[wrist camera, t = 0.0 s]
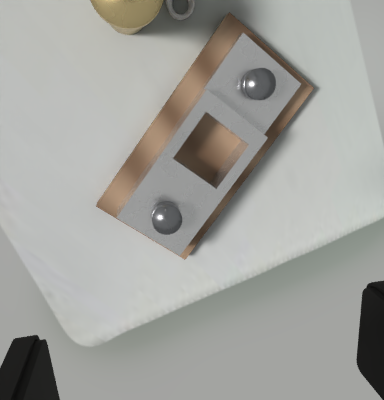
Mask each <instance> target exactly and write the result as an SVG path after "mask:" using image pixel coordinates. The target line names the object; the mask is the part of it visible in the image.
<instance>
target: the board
mask: <svg viewBox="0 0 384 400" xmlns="http://www.w3.org/2000/svg"><path fill="white" fill-rule="evenodd" d="M241 33H244V34H246V35H247V36H248V37H249V38H250V39H251V40H252V41H253V42H255V43H256V44H257V45H258V46H259V47H260V48H261V49H262V50H264V51H265V52H266V53H267V54H268V55H269V56H270V57H271V58H273V59H274V60H275V61H276V62H277V63H278V64H279V65H280V66H282V67H283V68H284V69H285V70H286V71H287V72H288V73H289V74H291V75H292V76H293V77H294V78H295V79H296V80H297V81H299V82H300V83H301V85H300V87H299V88H298V89H297V91H296V92H295V94H294V95H293V96H292V98H291V99H290V100H289V102H288V103H287V104H286V106H285V107H284V108H283V110H282V111H281V112H280V114H279V115H278V116H277V118H276V119H275V120H274V122H273V123H272V124H271V126H270V127H269V128H268V130H267V131H266V133H265V134H264V135H265V136H267V137H268V139H267V140H266V141H265V143H264V144H263V145H262V147H261V148H260V149H259V151H258V152H257V153H256V155H255V156H254V157H253V159H252V160H251V161H250V163H249V164H248V165H247V167H246V168H245V169H244V171H243V172H242V173H241V175H240V176H239V177H238V179H237V180H236V181H235V183H234V184H233V185H232V187H231V188H230V189H229V191H228V192H227V193H226V195H225V196H224V197H223V199H222V200H221V202H220V203H219V204H218V206H217V207H216V208H215V210H214V211H213V212H212V214H211V215H210V216H209V218H208V219H207V220H206V222H205V223H204V224H203V226H202V227H201V228H200V230H199V231H198V232H197V234H196V235H195V236H194V238H193V239H192V240H191V242H190V243H189V244H188V246H187V247H186V248H185V250H184V251H183V252H182V254H181V255H180V257H182V258H183V259H186V258H187V257H188V255H189V254H190V253H191V251H192V250H193V249H194V247H195V246H196V245H197V243H198V242H199V241H200V239H201V238H202V237H203V235H204V234H205V233H206V231H207V230H208V229H209V227H210V226H211V225H212V223H213V222H214V221H215V219H216V218H217V217H218V215H219V214H220V213H221V211H222V210H223V209H224V207H225V206H226V205H227V203H228V202H229V201H230V199H231V198H232V197H233V195H234V194H235V193H236V191H237V190H238V189H239V187H240V186H241V185H242V183H243V182H244V181H245V179H246V178H247V177H248V175H249V174H250V173H251V171H252V170H253V169H254V167H255V166H256V165H257V163H258V162H259V161H260V159H261V158H262V157H263V155H264V154H265V153H266V151H267V150H268V149H269V147H270V146H271V145H272V143H273V142H274V141H275V139H276V138H277V137H278V135H279V134H280V133H281V131H282V130H283V129H284V127H285V126H286V125H287V123H288V122H289V121H290V119H291V118H292V117H293V115H294V114H295V113H296V111H297V110H298V109H299V107H300V106H301V105H302V103H303V102H304V101H305V99H306V98H307V97H308V95H309V94H310V93H311V91H312V90H313V89H314V88H313V87H312V86H311V85H310V84H309V83H308V82H307V81H306V80H305V79H303V78H302V77H301V76H300V75H299V74H298V73H297V72H296V71H294V70H293V69H292V68H291V67H290V66H289V65H288V64H287V63H286V62H284V61H283V60H282V59H281V58H280V57H279V56H278V55H277V54H275V53H274V52H273V51H272V50H271V49H270V48H269V47H268V46H267V45H265V44H264V43H263V42H262V41H261V40H260V39H259V38H258V37H257V36H255V35H254V34H253V33H252V32H251V31H250V30H249V29H248V28H246V27H245V26H244V25H243V24H242V23H241V22H240V21H239V20H238V19H236V18H235V17H234V16H233V15H232V14H231V13H228V14H227V15H226V16H225V18H224V19H223V21H222V22H221V23H220V25H219V26H218V28H217V29H216V31H215V32H214V34H213V35H212V37H211V38H210V40H209V41H208V42H207V44H206V45H205V47H204V48H203V50H202V51H201V53H200V54H199V56H198V57H197V58H196V60H195V61H194V63H193V64H192V66H191V67H190V69H189V70H188V72H187V73H186V74H185V76H184V77H183V79H182V80H181V82H180V83H179V85H178V86H177V88H176V89H175V90H174V92H173V93H172V95H171V96H170V98H169V99H168V101H167V102H166V104H165V105H164V106H163V108H162V109H161V111H160V112H159V114H158V115H157V117H156V118H155V120H154V121H153V122H152V124H151V125H150V127H149V128H148V130H147V131H146V133H145V134H144V136H143V137H142V138H141V140H140V141H139V143H138V144H137V146H136V147H135V149H134V150H133V152H132V153H131V154H130V156H129V157H128V159H127V160H126V162H125V163H124V165H123V166H122V168H121V169H120V170H119V172H118V173H117V175H116V176H115V178H114V179H113V181H112V182H111V184H110V185H109V186H108V188H107V189H106V191H105V192H104V194H103V195H102V197H101V198H100V200H99V201H98V202H97V205H96V207H98V208H100V209H101V210H103V211H105V212H106V213H108V214H110V215H111V216H113V217H115V218H116V217H117V208H118V207H119V205H120V204H121V203H122V201H123V200H124V198H125V197H126V195H127V194H128V193H129V191H130V190H131V188H132V187H133V185H134V184H135V183H136V181H137V180H138V178H139V177H140V175H141V174H142V173H143V171H144V170H145V168H146V167H147V165H148V164H149V162H150V161H151V160H152V158H153V157H154V155H155V154H156V152H157V151H158V150H159V148H160V147H161V145H162V144H163V142H164V141H165V140H166V138H167V137H168V135H169V134H170V132H171V131H172V130H173V128H174V127H175V125H176V124H177V122H178V121H179V120H180V118H181V117H182V115H183V114H184V112H185V111H186V110H187V108H188V107H189V105H190V104H191V102H192V101H193V100H194V98H195V97H196V95H197V94H198V92H199V91H200V90H201V88H202V87H203V85H204V84H205V82H206V81H207V80H208V78H209V77H210V75H211V74H212V72H213V71H214V69H215V68H216V67H217V65H218V64H219V62H220V61H221V59H222V58H223V57H224V55H225V54H226V52H227V51H228V49H229V48H230V47H231V45H232V44H233V42H234V41H235V39H236V38H237V37H238V35H239V34H241ZM239 142H240V140H239V139H238V138H236V137H235V136H234V135H233V134H231V133H230V132H229V131H227V130H226V129H225V128H223V127H222V126H221V125H219V124H218V123H217V122H216V121H214V120H213V119H212V118H210V117H209V116H208V115H206V114H204V115H203V117H202V118H201V119H200V121H199V122H198V124H197V125H196V126H195V128H194V129H193V131H192V132H191V134H190V135H189V136H188V138H187V139H186V141H185V142H184V143H183V145H182V146H181V148H180V149H179V150H178V152H177V153H176V155H175V156H174V157H175V158H177V159H178V160H180V161H181V162H182V163H184V164H185V165H187V166H188V167H190V168H191V169H192V170H194V171H195V172H197V173H198V174H200V175H201V176H202V177H204V178H205V179H207V180H208V181H210V182H211V180H212V179H213V178H214V176H215V175H216V173H217V172H218V171H219V169H220V168H221V167H222V165H223V164H224V163H225V161H226V160H227V158H228V157H229V156H230V154H231V153H232V152H233V150H234V149H235V148H236V146H237V145H238V143H239ZM116 219H118V218H116ZM118 220H119V219H118ZM120 221H121V220H120ZM121 222H123V221H121ZM123 223H124V222H123ZM125 224H126V223H125ZM127 225H128V224H127ZM128 226H129V225H128ZM130 227H131V226H130ZM132 228H133V227H132ZM133 229H134V228H133ZM135 230H136V229H135ZM137 231H138V230H137ZM138 232H139V231H138ZM140 233H141V232H140ZM142 234H143V233H142ZM143 235H144V234H143ZM145 236H146V235H145ZM147 237H148V236H147ZM148 238H149V237H148ZM150 239H151V238H150ZM152 240H153V239H152ZM153 241H154V240H153ZM155 242H156V241H155ZM157 243H158V242H157ZM158 244H159V243H158ZM160 245H161V244H160ZM162 246H163V245H162ZM163 247H164V246H163ZM165 248H166V247H165ZM167 249H168V248H167ZM168 250H169V249H168ZM170 251H171V250H170ZM172 252H173V251H172ZM173 253H174V252H173ZM175 254H176V253H175ZM177 255H178V254H177ZM178 256H179V255H178Z"/></svg>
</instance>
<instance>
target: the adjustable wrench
mask: <svg viewBox="0 0 384 400" xmlns="http://www.w3.org/2000/svg"><path fill="white" fill-rule="evenodd" d="M187 1H188V3H189V8H188V10H187V12H186V13H184V14H181V15H180V14H177V13H176V12H175V11H174V10H173V7H172V2H173V0H165V2H166V6H167V9H168V12H169V14H170V15H171V16H172V17H173V18H175V19H176V20H185V19H186V18H188V17H189V16H190V15H191V14H192V12H193V10H194V6H195V2H194V0H187Z"/></svg>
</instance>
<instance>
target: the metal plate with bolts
mask: <svg viewBox="0 0 384 400" xmlns="http://www.w3.org/2000/svg"><path fill="white" fill-rule="evenodd" d="M300 85H301V83H300V82H299V81H297V80H296V79H295V78H294V77H293V76H292V75H291V74H289V73H288V72H287V71H286V70H285V69H284V68H283V67H282V66H280V65H279V64H278V63H277V62H276V61H275V60H274V59H273V58H271V57H270V56H269V55H268V54H267V53H266V52H265V51H264V50H262V49H261V48H260V47H259V46H258V45H257V44H256V43H255V42H253V41H252V40H251V39H250V38H249V37H248V36H247V35H246V34H244V33H241V34H239V35H238V37H237V38H236V39H235V41H234V42H233V44H232V45H231V47H230V48H229V49H228V51H227V52H226V54H225V55H224V57H223V58H222V59H221V61H220V62H219V64H218V65H217V67H216V68H215V69H214V71H213V72H212V74H211V75H210V77H209V78H208V80H207V81H206V82H205V84H204V85H203V87H202V88H201V90H200V91H199V92H198V94H197V95H196V97H195V98H194V100H193V101H192V102H191V104H190V105H189V107H188V108H187V110H186V111H185V112H184V114H183V115H182V117H181V118H180V120H179V121H178V122H177V124H176V125H175V127H174V128H173V130H172V131H171V132H170V134H169V135H168V137H167V138H166V140H165V141H164V142H163V144H162V145H161V147H160V148H159V150H158V151H157V152H156V154H155V155H154V157H153V158H152V160H151V161H150V162H149V164H148V165H147V167H146V168H145V170H144V171H143V173H142V174H141V175H140V177H139V178H138V180H137V181H136V183H135V184H134V185H133V187H132V188H131V190H130V191H129V193H128V194H127V195H126V197H125V198H124V200H123V201H122V203H121V204H120V205H119V207H118V208H117V217H116V218H118V219H119V220H121V221H123V222H124V223H126V224H128V225H129V226H131V227H133V228H134V229H136V230H138V231H139V232H141V233H143V234H144V235H146V236H148V237H149V238H151V239H153V240H154V241H156V242H158V243H159V244H161V245H163V246H164V247H166V248H168V249H169V250H171V251H173V252H174V253H176V254H178V255H179V256H180V255H181V254H182V252H183V251H184V250H185V248H186V247H187V246H188V244H189V243H190V242H191V240H192V239H193V238H194V236H195V235H196V234H197V232H198V231H199V230H200V228H201V227H202V226H203V224H204V223H205V222H206V220H207V219H208V218H209V216H210V215H211V214H212V212H213V211H214V210H215V208H216V207H217V206H218V204H219V203H220V202H221V200H222V199H223V197H224V196H225V195H226V193H227V192H228V191H229V189H230V188H231V187H232V185H233V184H234V183H235V181H236V180H237V179H238V177H239V176H240V175H241V173H242V172H243V171H244V169H245V168H246V167H247V165H248V164H249V163H250V161H251V160H252V159H253V157H254V156H255V155H256V153H257V152H258V151H259V149H260V148H261V147H262V145H263V144H264V143H265V141H266V140H267V139H268V137H267V136H265V135H264V134H265V133H266V131H267V130H268V128H269V127H270V126H271V124H272V123H273V122H274V120H275V119H276V118H277V116H278V115H279V114H280V112H281V111H282V110H283V108H284V107H285V106H286V104H287V103H288V102H289V100H290V99H291V98H292V96H293V95H294V94H295V92H296V91H297V89H298V88H299V87H300ZM204 114H206V115H208V116H209V117H210V118H212V119H213V120H214V121H216V122H217V123H218V124H219V125H221V126H222V127H223V128H225V129H226V130H227V131H229V132H230V133H231V134H233V135H234V136H235V137H236V138H238V139H239V140H240V142H239V143H238V145H237V146H236V148H235V149H234V150H233V152H232V153H231V154H230V156H229V157H228V158H227V160H226V161H225V163H224V164H223V165H222V167H221V168H220V169H219V171H218V172H217V173H216V175H215V176H214V178H213V179H212V180H211V182H210V181H208V180H207V179H205V178H204V177H202V176H201V175H200V174H198V173H197V172H195V171H194V170H192V169H191V168H190V167H188V166H187V165H185V164H184V163H182V162H181V161H180V160H178V159H177V158H175V157H174V156H175V155H176V153H177V152H178V150H179V149H180V148H181V146H182V145H183V143H184V142H185V141H186V139H187V138H188V136H189V135H190V134H191V132H192V131H193V129H194V128H195V126H196V125H197V124H198V122H199V121H200V119H201V118H202V117H203V115H204Z"/></svg>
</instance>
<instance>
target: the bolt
mask: <svg viewBox="0 0 384 400" xmlns="http://www.w3.org/2000/svg"><path fill="white" fill-rule="evenodd" d="M90 1H91V3H92V5H93V7H94V9H95V10H96V12H97V13H98V14H99V15H100V17H101V18H102V19H104V20H105V21H106V22H107V23H109V24H110V25H111V26H112V28H113V29H115V30H116V31H117V32H119V33H121V34H125V35H131V34H135V33H137V32H139V31H140V30H141V29H142V28H143V27H144V26H146V25H147V24H149V23H150V22H151V21H152V20H153V19H154V18H155V17H156V16H157V14H158V13H159V11H160V9H161V6H162V4H163V1H164V0H90Z"/></svg>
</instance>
